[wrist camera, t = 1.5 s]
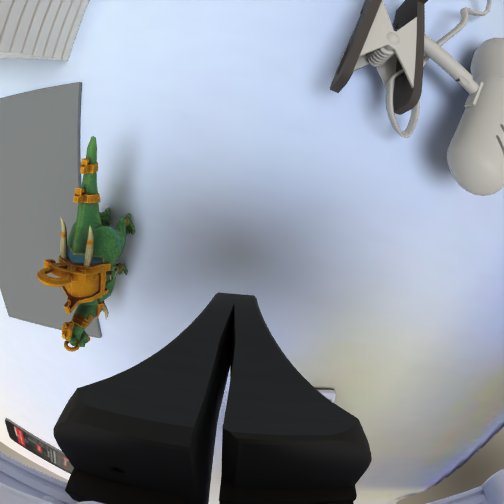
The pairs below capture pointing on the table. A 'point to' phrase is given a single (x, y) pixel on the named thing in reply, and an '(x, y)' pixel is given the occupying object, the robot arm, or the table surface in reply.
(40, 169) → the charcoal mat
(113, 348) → the table surface
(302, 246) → the table surface
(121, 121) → the table surface
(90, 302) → the figurine
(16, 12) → the stack of papers
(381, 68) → the clip-on lamp
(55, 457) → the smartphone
